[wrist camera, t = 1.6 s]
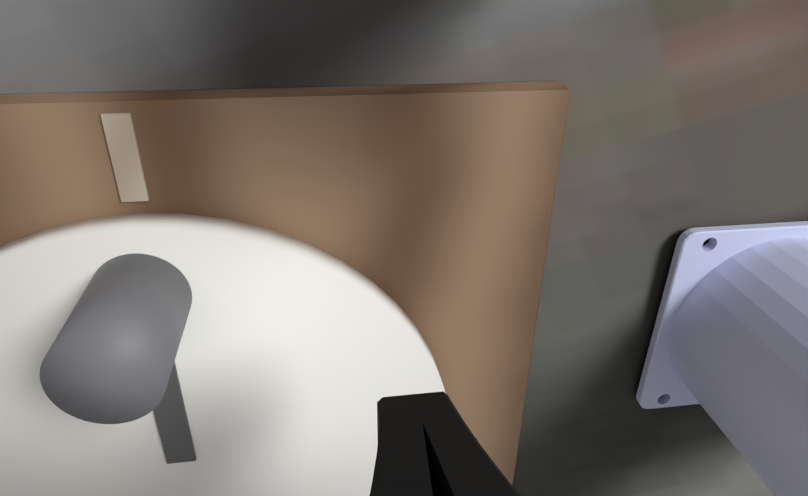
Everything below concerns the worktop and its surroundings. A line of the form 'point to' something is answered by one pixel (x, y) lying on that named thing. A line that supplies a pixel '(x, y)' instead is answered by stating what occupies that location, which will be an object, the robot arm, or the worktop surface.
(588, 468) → the worktop surface
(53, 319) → the dial
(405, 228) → the dial board
